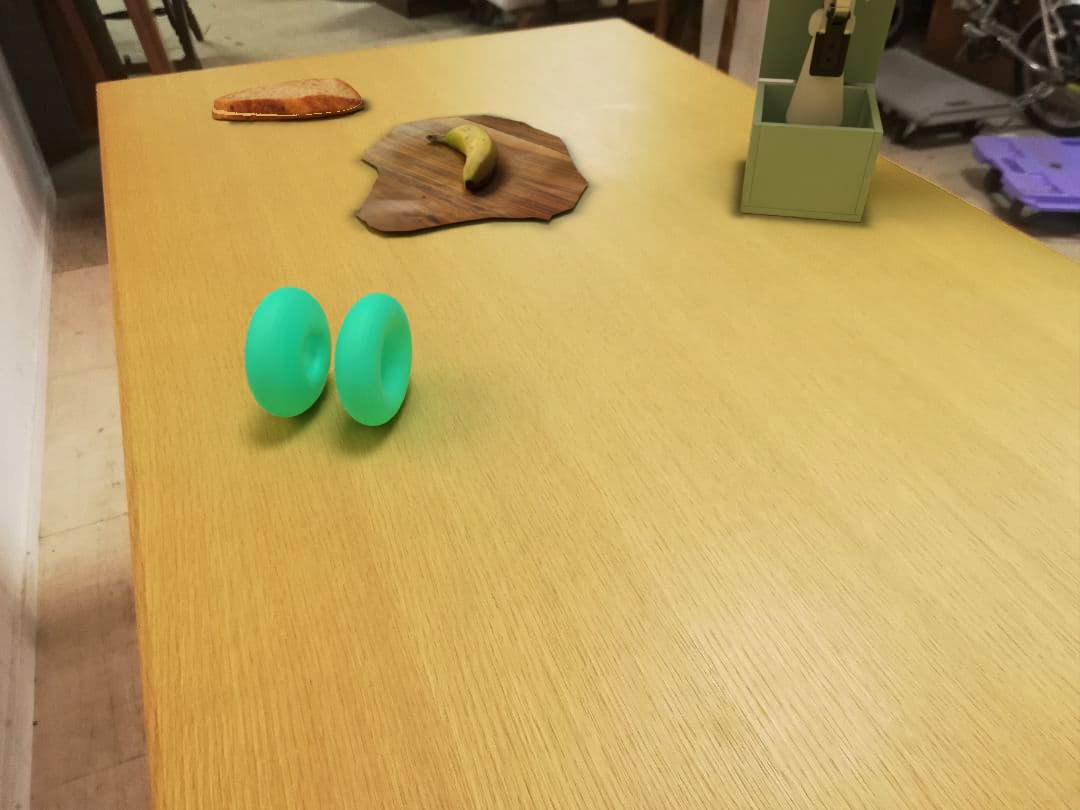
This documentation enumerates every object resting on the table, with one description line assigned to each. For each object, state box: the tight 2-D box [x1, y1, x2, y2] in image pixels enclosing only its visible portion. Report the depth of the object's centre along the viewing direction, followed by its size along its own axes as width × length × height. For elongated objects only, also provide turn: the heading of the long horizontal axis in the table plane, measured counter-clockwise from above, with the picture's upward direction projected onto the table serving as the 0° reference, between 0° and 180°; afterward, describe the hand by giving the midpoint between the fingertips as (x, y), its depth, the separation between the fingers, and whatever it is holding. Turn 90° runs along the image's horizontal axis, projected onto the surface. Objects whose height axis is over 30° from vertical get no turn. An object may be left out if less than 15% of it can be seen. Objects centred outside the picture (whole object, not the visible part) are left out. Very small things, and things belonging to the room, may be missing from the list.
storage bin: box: [739, 80, 884, 223], centre depth 87 cm, size 14×13×10 cm
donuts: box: [244, 286, 413, 427], centre depth 59 cm, size 10×10×10 cm
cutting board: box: [355, 114, 590, 232], centre depth 96 cm, size 35×27×4 cm
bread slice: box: [211, 77, 365, 122], centre depth 114 cm, size 18×18×4 cm
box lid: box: [758, 0, 897, 85], centre depth 85 cm, size 14×13×5 cm
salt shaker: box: [786, 7, 855, 127], centre depth 81 cm, size 6×6×13 cm
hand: (824, 65), depth 80 cm, fingers closed on salt shaker, 4 cm apart
